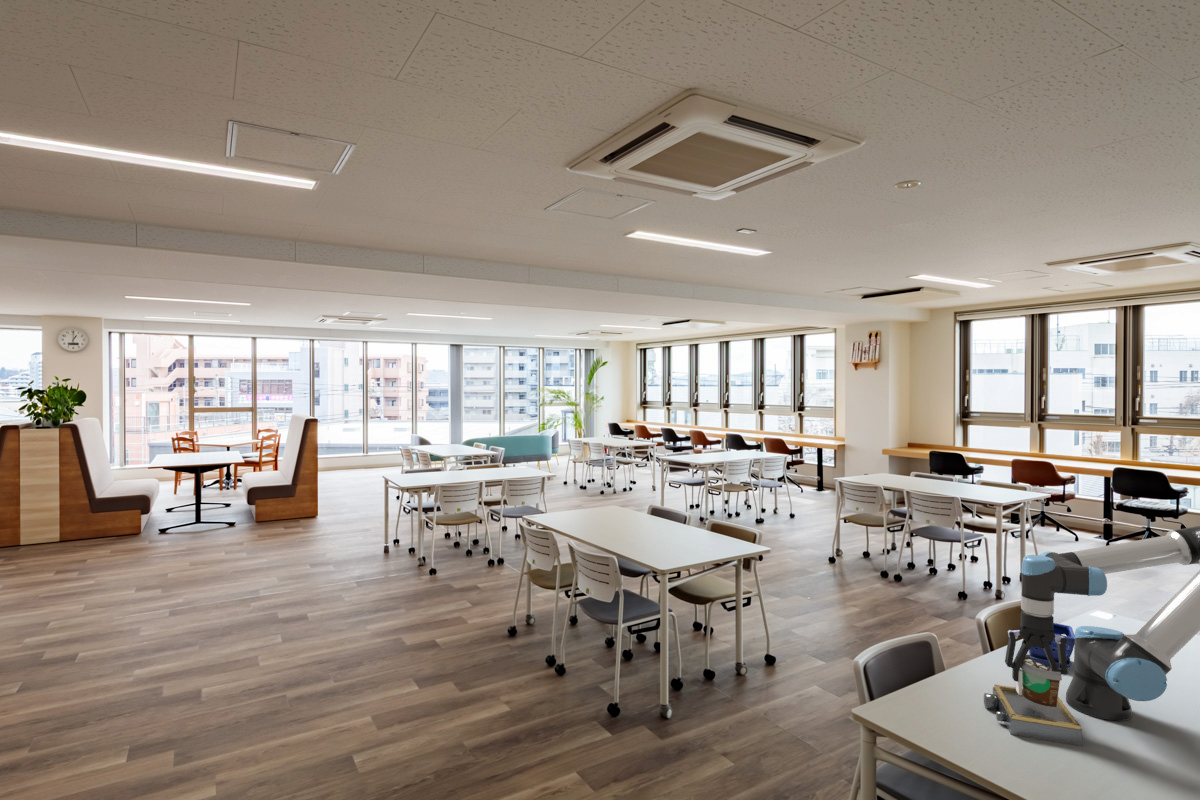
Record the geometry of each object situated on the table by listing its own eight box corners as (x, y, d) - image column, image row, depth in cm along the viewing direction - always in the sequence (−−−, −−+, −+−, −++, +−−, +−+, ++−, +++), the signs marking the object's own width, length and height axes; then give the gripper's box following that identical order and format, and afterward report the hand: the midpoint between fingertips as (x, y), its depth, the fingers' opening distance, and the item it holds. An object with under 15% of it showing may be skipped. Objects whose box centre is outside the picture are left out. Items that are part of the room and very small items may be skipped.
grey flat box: (1056, 710, 187) (1056, 692, 186) (1081, 746, 168) (1082, 726, 168) (980, 698, 193) (981, 682, 193) (997, 732, 174) (998, 713, 174)
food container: (1007, 688, 186) (1008, 653, 185) (1027, 688, 186) (1029, 653, 186) (1038, 709, 173) (1040, 673, 173) (1060, 709, 174) (1062, 672, 173)
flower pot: (1071, 659, 222) (1072, 625, 222) (1074, 673, 211) (1075, 637, 211) (1025, 651, 230) (1026, 617, 229) (1026, 664, 218) (1026, 628, 218)
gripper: (1074, 612, 179) (1072, 695, 180) (992, 604, 186) (990, 683, 186) (1085, 621, 172) (1082, 707, 173) (999, 612, 179) (997, 695, 179)
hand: (1035, 694), depth 180 cm, fingers closed on food container, 7 cm apart
